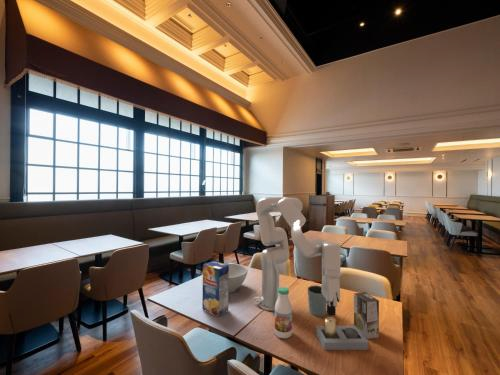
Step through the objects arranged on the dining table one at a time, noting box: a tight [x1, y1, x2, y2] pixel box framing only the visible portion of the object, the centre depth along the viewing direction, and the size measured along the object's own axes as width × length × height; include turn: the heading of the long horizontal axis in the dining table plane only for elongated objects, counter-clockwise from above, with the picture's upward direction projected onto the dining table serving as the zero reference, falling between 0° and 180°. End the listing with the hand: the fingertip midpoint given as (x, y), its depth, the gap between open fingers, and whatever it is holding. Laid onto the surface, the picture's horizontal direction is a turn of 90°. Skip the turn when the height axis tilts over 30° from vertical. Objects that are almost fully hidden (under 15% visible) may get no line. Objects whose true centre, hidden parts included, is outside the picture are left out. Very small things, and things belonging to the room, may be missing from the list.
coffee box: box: [353, 291, 380, 340], centre depth 105 cm, size 9×6×16 cm
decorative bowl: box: [225, 262, 249, 294], centre depth 149 cm, size 27×27×12 cm
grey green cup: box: [307, 284, 327, 317], centre depth 121 cm, size 10×10×12 cm
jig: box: [315, 325, 370, 351], centre depth 99 cm, size 18×11×4 cm, turn 91°
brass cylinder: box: [324, 316, 337, 339], centre depth 99 cm, size 4×4×9 cm
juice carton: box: [201, 260, 229, 317], centre depth 123 cm, size 12×8×24 cm, turn 55°
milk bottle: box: [274, 286, 293, 339], centre depth 103 cm, size 8×8×20 cm
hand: (331, 314), depth 98 cm, fingers closed
